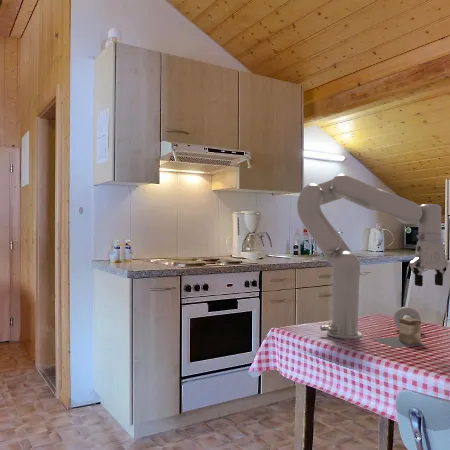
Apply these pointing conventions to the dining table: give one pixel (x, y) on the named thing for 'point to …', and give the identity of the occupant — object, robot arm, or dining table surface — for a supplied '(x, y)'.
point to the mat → (396, 342)
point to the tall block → (409, 330)
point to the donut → (403, 312)
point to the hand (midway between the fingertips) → (428, 285)
